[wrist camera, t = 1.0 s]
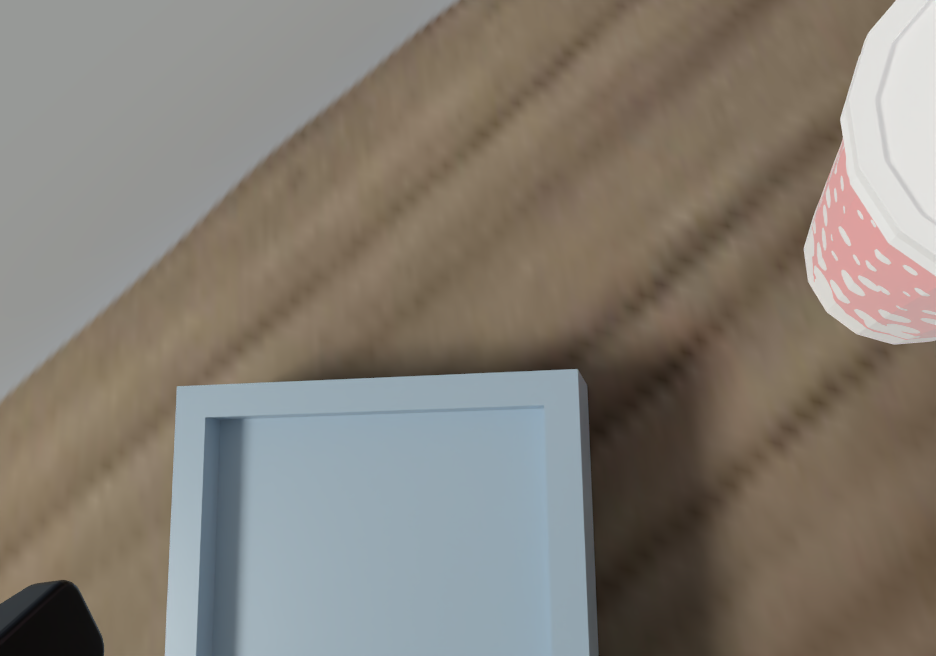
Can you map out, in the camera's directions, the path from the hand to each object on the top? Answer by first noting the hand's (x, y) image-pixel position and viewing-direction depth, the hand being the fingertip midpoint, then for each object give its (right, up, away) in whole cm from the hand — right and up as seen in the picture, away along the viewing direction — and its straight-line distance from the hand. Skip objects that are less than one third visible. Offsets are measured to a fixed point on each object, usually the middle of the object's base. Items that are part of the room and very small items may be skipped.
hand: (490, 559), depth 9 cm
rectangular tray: (-2, -4, +14) cm, 15 cm away
